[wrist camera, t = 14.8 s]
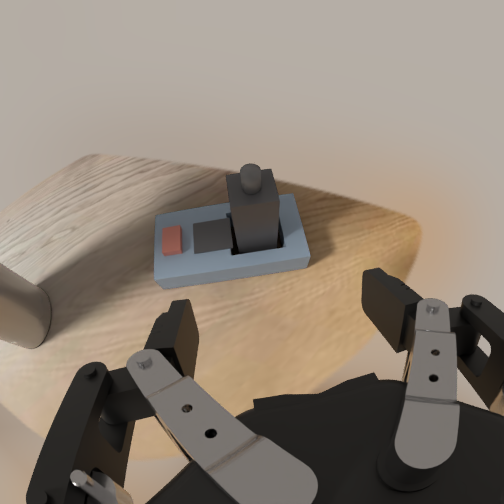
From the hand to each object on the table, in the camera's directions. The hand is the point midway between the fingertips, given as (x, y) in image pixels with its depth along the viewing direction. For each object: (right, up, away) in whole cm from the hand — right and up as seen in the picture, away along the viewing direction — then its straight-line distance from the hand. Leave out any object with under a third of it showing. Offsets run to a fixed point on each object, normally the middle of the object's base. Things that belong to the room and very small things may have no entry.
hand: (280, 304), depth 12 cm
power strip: (-4, +3, +19) cm, 20 cm away
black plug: (-1, +3, +19) cm, 20 cm away
